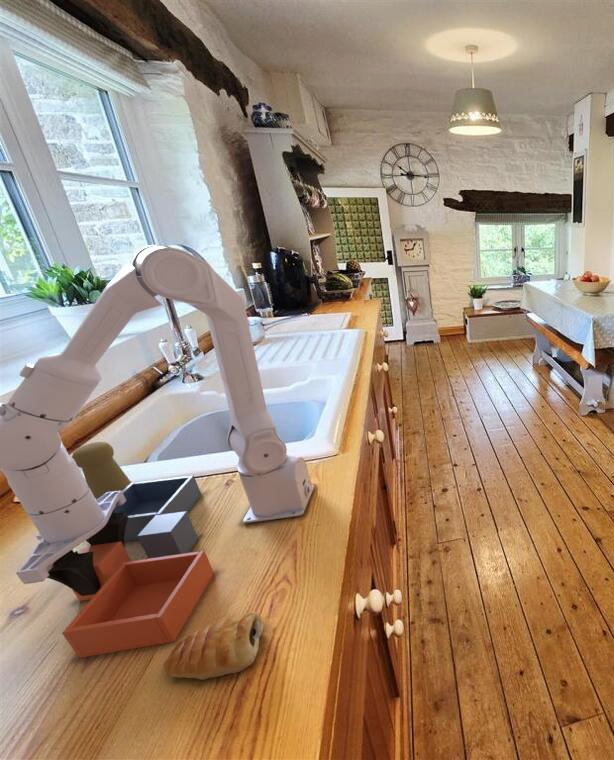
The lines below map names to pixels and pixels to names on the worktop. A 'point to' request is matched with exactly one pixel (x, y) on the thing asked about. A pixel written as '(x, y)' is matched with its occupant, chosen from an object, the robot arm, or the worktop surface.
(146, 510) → the slate bin
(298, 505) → the robot arm
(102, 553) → the terracotta block
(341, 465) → the worktop surface
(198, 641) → the pastry
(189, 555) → the terracotta bin
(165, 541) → the slate block
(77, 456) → the cork
